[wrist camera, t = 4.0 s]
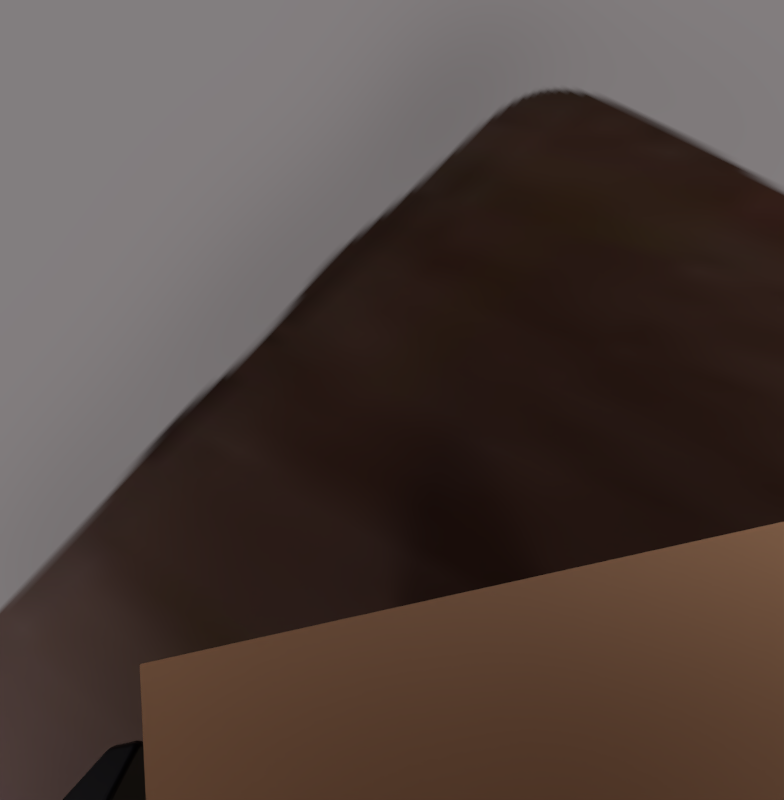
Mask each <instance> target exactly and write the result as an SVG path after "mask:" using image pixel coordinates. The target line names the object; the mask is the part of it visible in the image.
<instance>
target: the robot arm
mask: <svg viewBox="0 0 784 800" xmlns="http://www.w3.org/2000/svg"><path fill="white" fill-rule="evenodd" d="M63 800H146V793H145V771H144V749H143V742H142V741H133V742H129V743H124V744H120V745H115V746H113V747H111V748H110V749H108V750H107V751H106V752H105V753H104V754H103V756H102V757H101V758H100V759H99V760H98V761H97V762H96V763H95V764H94V766H93V767H92V768H91V769H90V770H89V771H88V772H87V773H86V774H85V776H84V777H83V778H82V779H81V780H80V781H79V782H78V783H77V784H76V785H75V787H74V788H73V789H72V790H71V791H70V792H69V793H68V794H67V795H66V797H65V798H64V799H63Z"/></svg>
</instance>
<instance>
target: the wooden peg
mask: <svg viewBox="0 0 784 800" xmlns="http://www.w3.org/2000/svg"><path fill="white" fill-rule="evenodd" d="M140 682H141V704H142V726H143V749H144V771H145V793H146V800H784V522H780V523H775V524H771V525H766V526H762V527H757V528H753V529H748V530H744V531H739V532H735V533H730V534H726V535H721V536H717V537H712V538H708V539H703V540H698V541H694V542H689V543H685V544H680V545H676V546H671V547H667V548H662V549H658V550H653V551H649V552H644V553H640V554H635V555H631V556H626V557H622V558H617V559H613V560H608V561H604V562H599V563H595V564H590V565H585V566H581V567H576V568H572V569H567V570H563V571H558V572H554V573H549V574H545V575H540V576H536V577H531V578H527V579H522V580H518V581H513V582H509V583H504V584H500V585H495V586H491V587H486V588H482V589H477V590H473V591H468V592H463V593H459V594H454V595H450V596H445V597H441V598H436V599H432V600H427V601H423V602H418V603H414V604H409V605H405V606H400V607H396V608H391V609H387V610H382V611H378V612H373V613H369V614H364V615H360V616H355V617H350V618H346V619H341V620H337V621H332V622H328V623H323V624H319V625H314V626H310V627H305V628H301V629H296V630H292V631H287V632H283V633H278V634H274V635H269V636H265V637H260V638H256V639H251V640H247V641H242V642H237V643H233V644H228V645H224V646H219V647H215V648H210V649H206V650H201V651H197V652H192V653H188V654H183V655H179V656H174V657H170V658H165V659H161V660H156V661H152V662H147V663H143V664H140Z"/></svg>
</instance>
